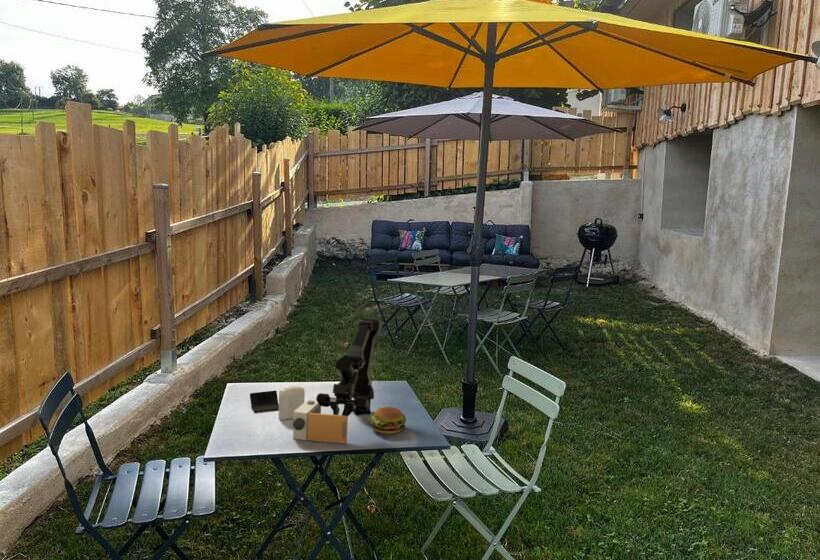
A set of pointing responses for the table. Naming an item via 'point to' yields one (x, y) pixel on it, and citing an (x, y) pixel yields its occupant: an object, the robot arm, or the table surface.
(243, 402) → the table surface
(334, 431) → the side door
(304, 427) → the action camera
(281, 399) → the cream rounded slab
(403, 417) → the food
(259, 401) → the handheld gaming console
